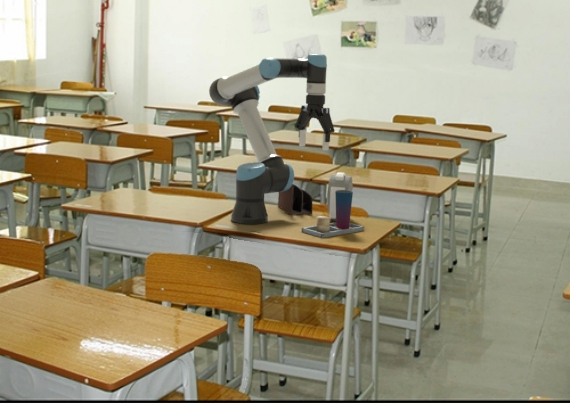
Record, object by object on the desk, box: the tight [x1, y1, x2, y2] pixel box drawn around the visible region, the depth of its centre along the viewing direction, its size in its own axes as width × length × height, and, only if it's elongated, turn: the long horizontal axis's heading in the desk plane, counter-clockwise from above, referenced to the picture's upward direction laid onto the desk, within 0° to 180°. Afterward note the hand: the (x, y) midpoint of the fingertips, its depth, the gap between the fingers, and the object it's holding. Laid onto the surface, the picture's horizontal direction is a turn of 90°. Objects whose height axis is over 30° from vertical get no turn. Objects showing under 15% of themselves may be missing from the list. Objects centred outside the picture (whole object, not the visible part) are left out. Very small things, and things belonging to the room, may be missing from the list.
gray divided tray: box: [301, 221, 365, 239], centre depth 311 cm, size 12×22×2 cm, turn 131°
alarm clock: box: [326, 171, 354, 222], centre depth 334 cm, size 18×8×20 cm, turn 168°
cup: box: [335, 190, 354, 230], centre depth 313 cm, size 7×7×15 cm
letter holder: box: [277, 183, 314, 216], centre depth 352 cm, size 10×20×14 cm, turn 17°
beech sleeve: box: [316, 215, 331, 233], centre depth 307 cm, size 5×5×6 cm
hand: (313, 148), depth 317 cm, fingers open, 13 cm apart
